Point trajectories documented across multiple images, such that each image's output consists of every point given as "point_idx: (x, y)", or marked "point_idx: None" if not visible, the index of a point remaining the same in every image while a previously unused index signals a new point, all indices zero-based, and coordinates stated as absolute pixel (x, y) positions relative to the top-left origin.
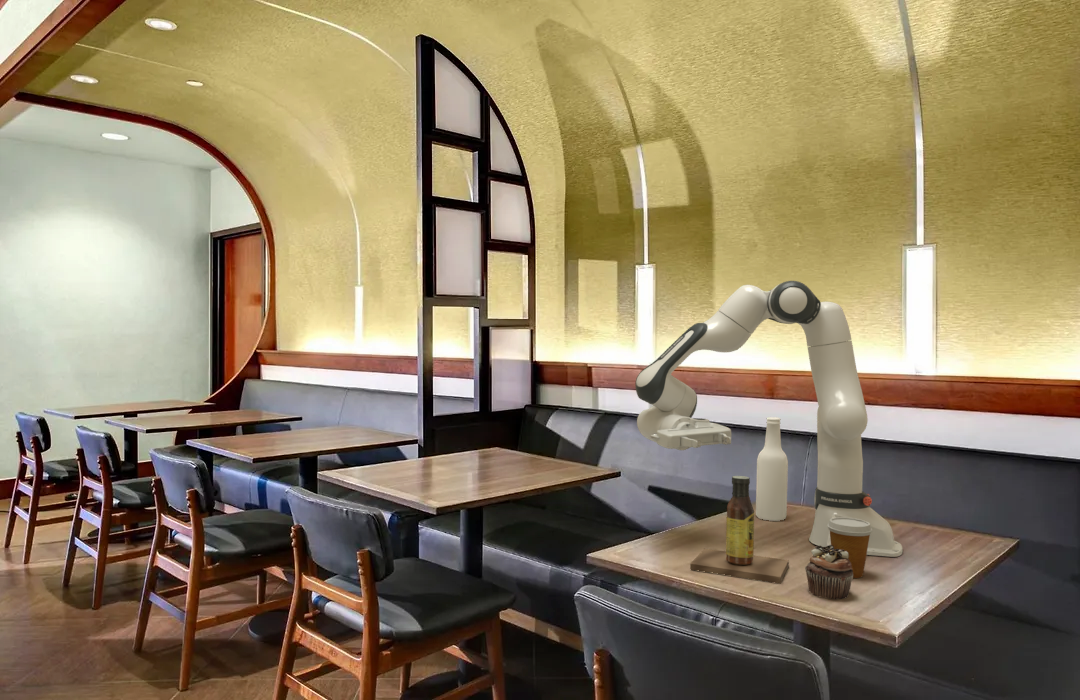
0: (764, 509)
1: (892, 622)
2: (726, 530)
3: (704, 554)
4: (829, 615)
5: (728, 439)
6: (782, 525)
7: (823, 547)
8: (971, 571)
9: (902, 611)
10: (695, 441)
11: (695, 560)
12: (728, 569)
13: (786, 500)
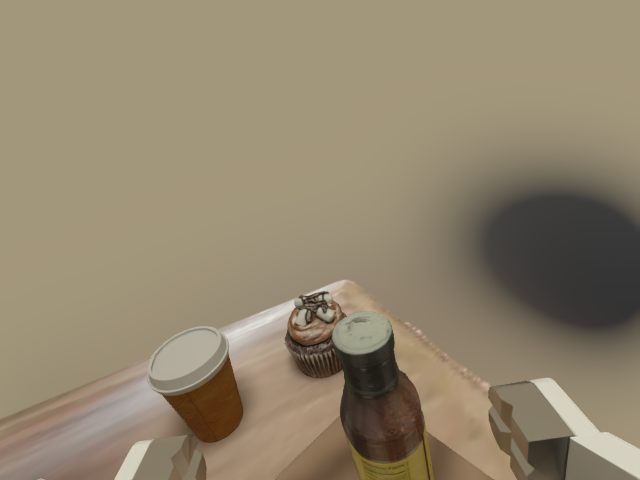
0: None
1: (329, 291)
2: (427, 458)
3: None
4: (378, 305)
5: (175, 438)
6: None
7: (316, 307)
8: (68, 394)
9: (294, 308)
10: (551, 381)
11: None
12: (451, 450)
13: None
